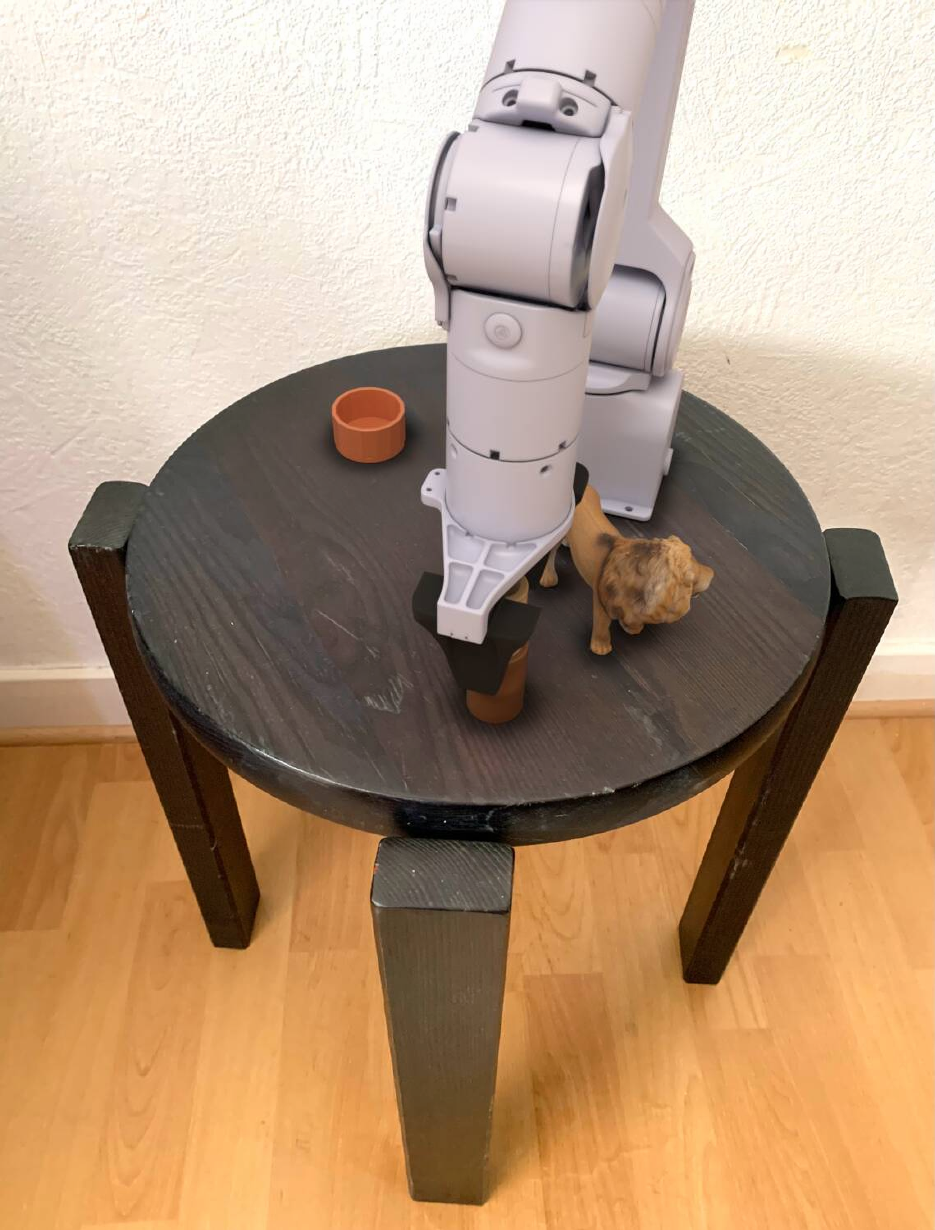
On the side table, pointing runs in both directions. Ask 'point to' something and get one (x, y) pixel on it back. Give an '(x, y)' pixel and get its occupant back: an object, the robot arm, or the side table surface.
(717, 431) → the side table surface
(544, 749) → the side table surface
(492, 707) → the brown cylinder
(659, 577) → the lion figurine
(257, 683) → the side table surface
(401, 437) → the terracotta crock
